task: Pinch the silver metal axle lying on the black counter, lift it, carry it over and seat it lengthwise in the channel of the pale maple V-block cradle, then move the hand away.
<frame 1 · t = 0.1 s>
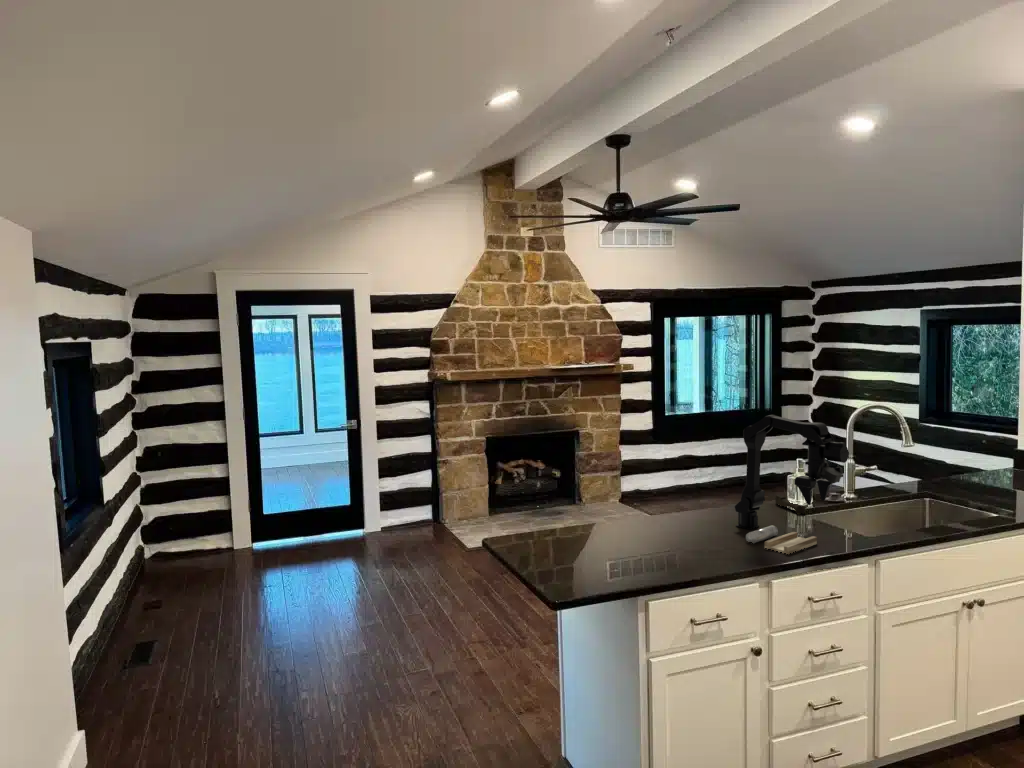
hand: (816, 502, 258), 15 cm above the counter, tool pointing down, fingers open, 9 cm apart
hand tool: (786, 509, 307), on the counter
axle: (761, 539, 265), on the counter
cradle: (790, 546, 256), on the counter
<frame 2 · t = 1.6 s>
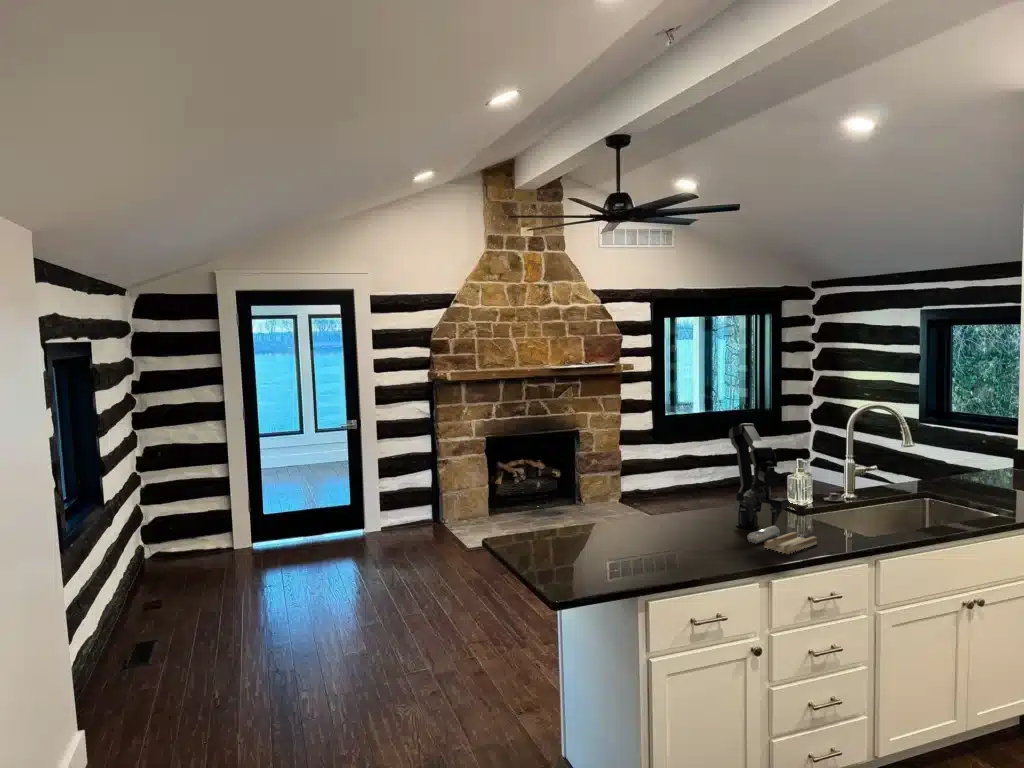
hand: (761, 523, 265), 6 cm above the counter, tool pointing down, fingers open, 9 cm apart
axle: (761, 539, 265), on the counter, tilted 22°
everything else where it was.
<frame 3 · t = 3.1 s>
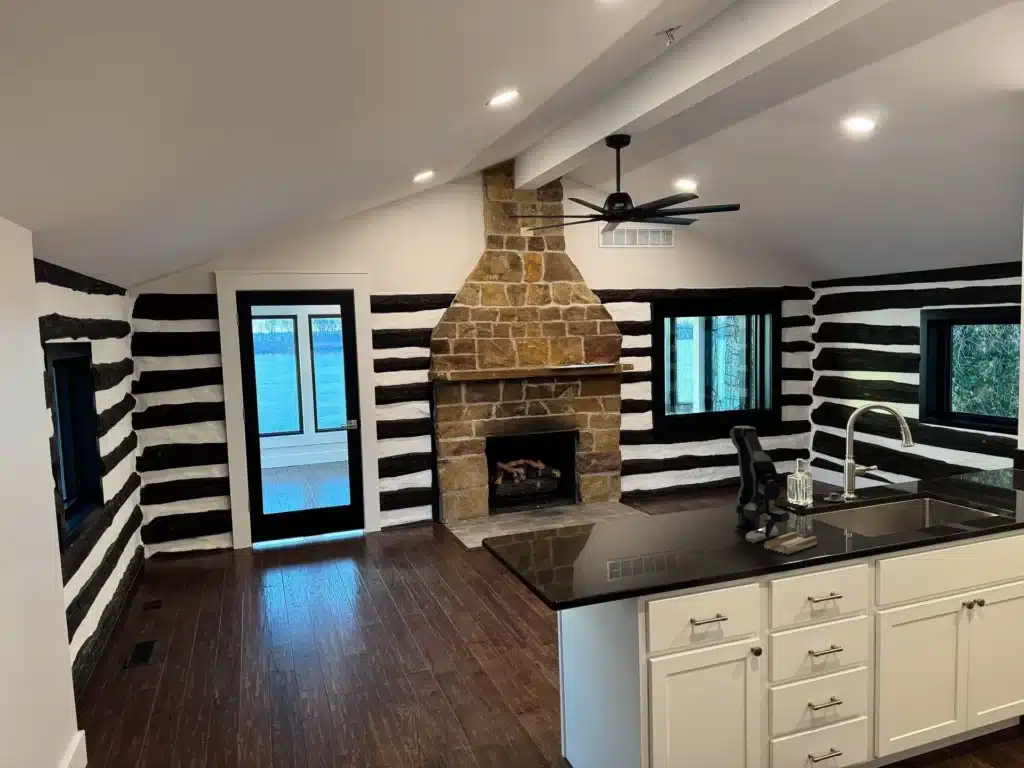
hand: (762, 535, 265), 1 cm above the counter, tool pointing down, fingers closed on axle, 4 cm apart
axle: (761, 539, 265), on the counter, touching gripper
everything else where it was.
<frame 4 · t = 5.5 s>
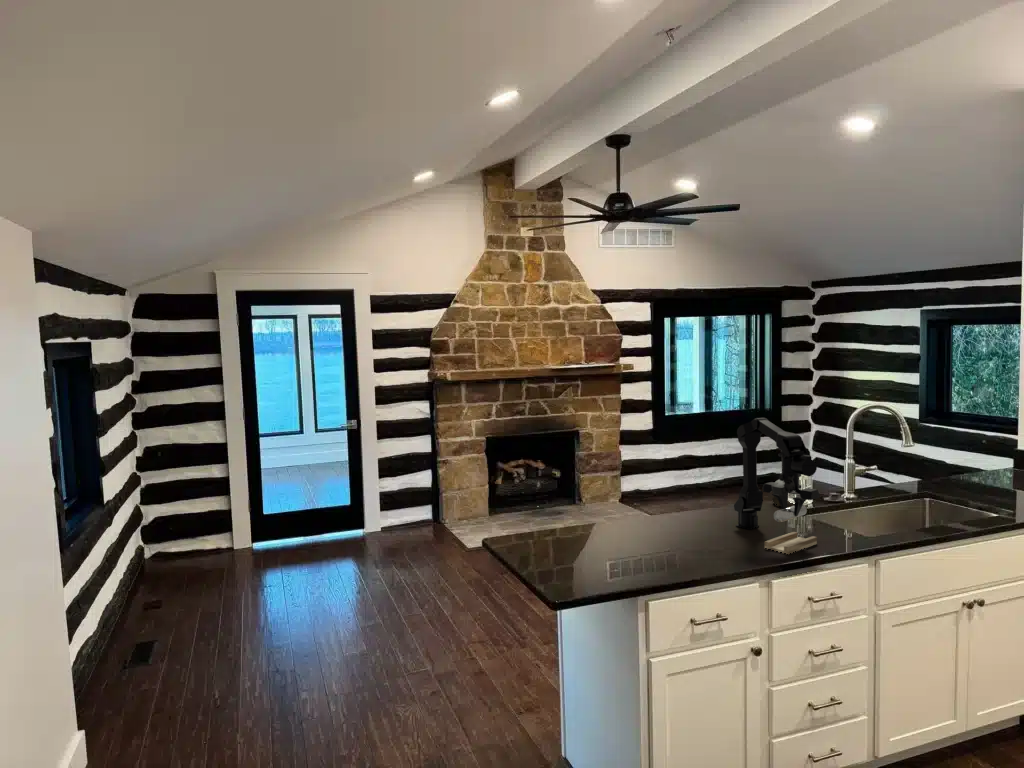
hand: (790, 515, 255), 11 cm above the counter, tool pointing down, fingers closed on axle, 4 cm apart
axle: (790, 518, 255), point 10 cm above the counter, touching gripper
everything else where it was.
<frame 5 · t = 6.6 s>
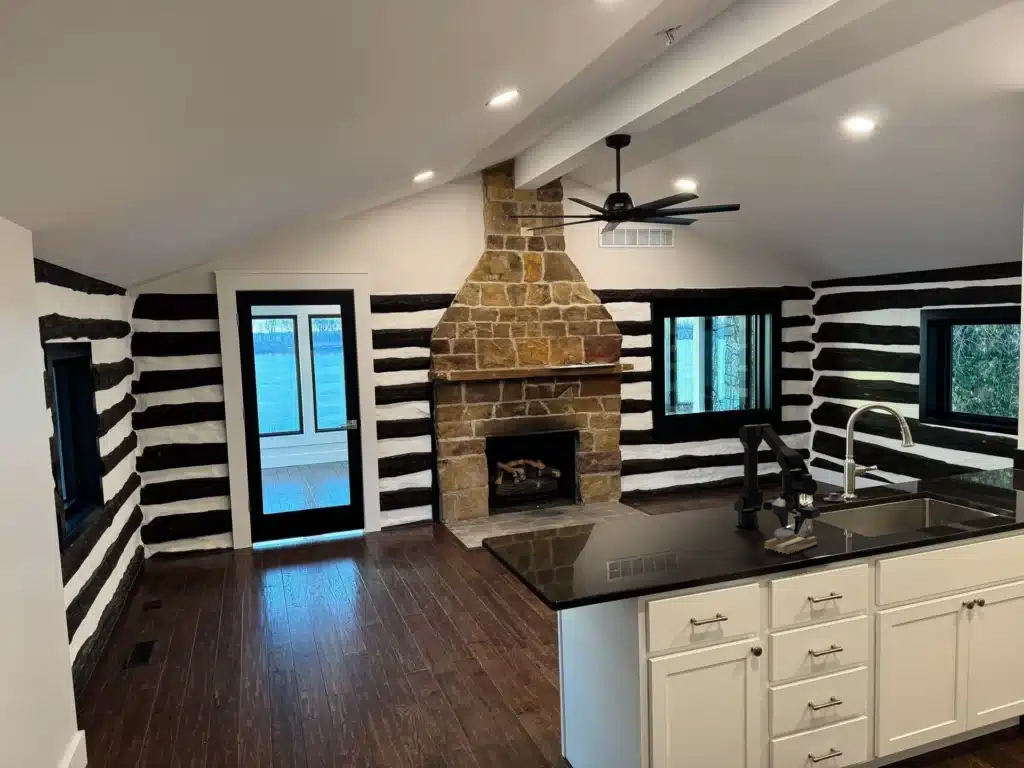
hand: (790, 533, 256), 5 cm above the counter, tool pointing down, fingers closed on axle, 4 cm apart
axle: (790, 536, 256), point 3 cm above the counter, touching gripper
everything else where it was.
when the fingers open (3 cm above the counter, at t = 7.6 s): axle drops 1 cm, resting on cradle.
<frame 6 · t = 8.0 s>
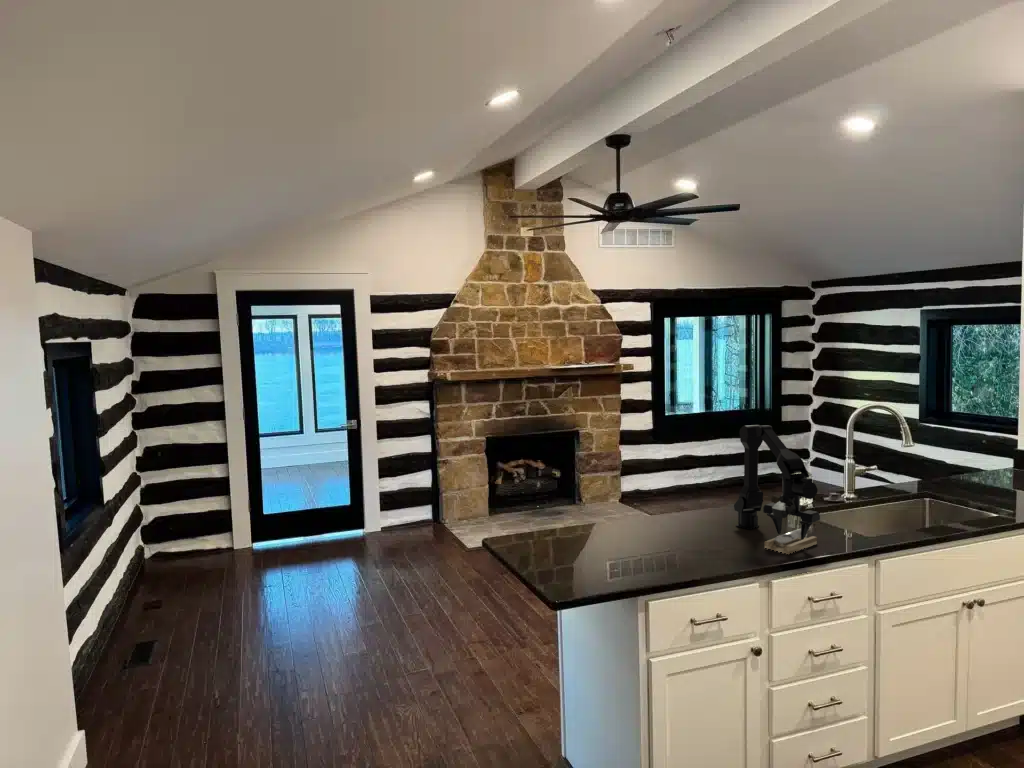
hand: (790, 536, 256), 3 cm above the counter, tool pointing down, fingers open, 9 cm apart
axle: (790, 543, 256), point 1 cm above the counter, touching cradle
everything else where it was.
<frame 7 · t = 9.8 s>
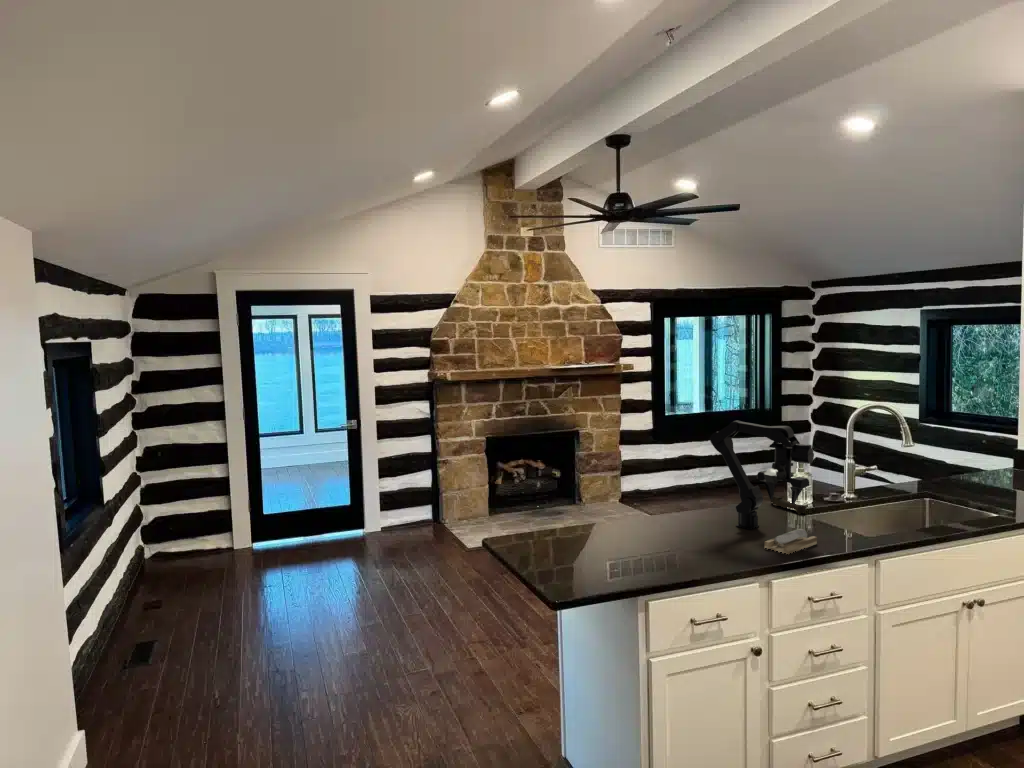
hand: (782, 501, 272), 12 cm above the counter, tool pointing down, fingers open, 9 cm apart
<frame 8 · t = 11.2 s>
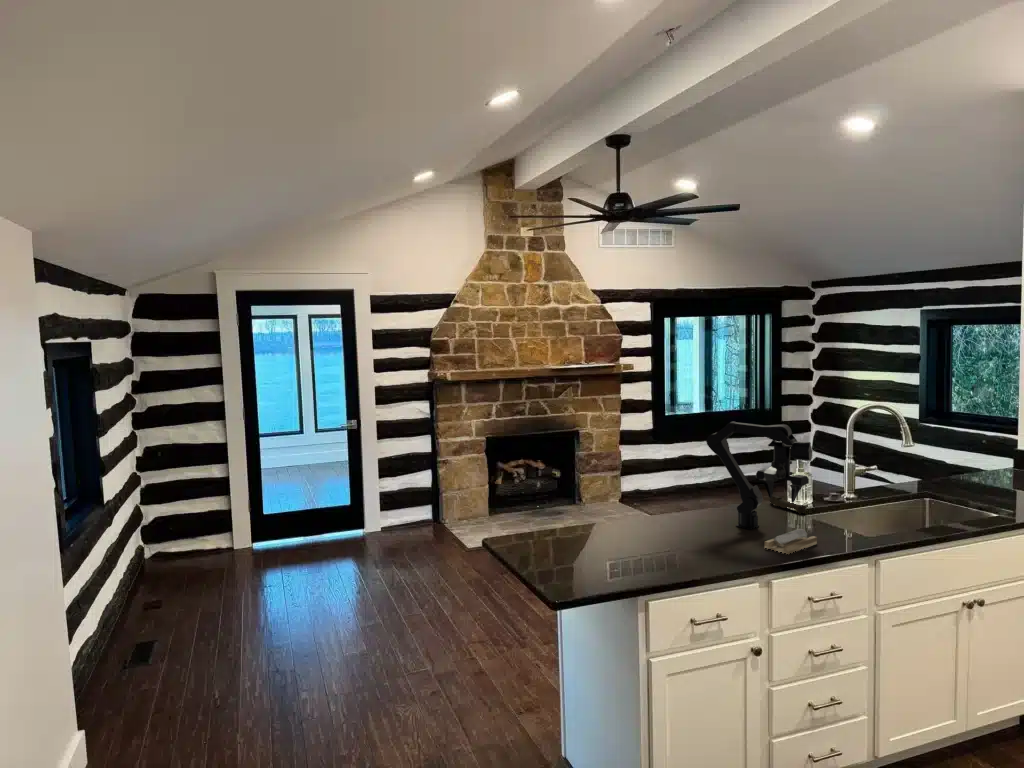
hand: (781, 499, 274), 12 cm above the counter, tool pointing down, fingers open, 9 cm apart
at the end: axle inside the target area on the cradle (0.1 cm from its centre), point 1.0 cm above the cradle's base; axle touching cradle; the gripper is holding nothing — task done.
